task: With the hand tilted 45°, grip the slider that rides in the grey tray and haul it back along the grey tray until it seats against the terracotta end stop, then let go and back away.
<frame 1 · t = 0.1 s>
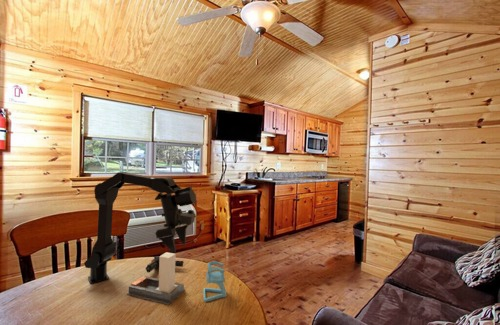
hand: (179, 247, 94), 15 cm above the table, tool pointing down, fingers open, 9 cm apart
chair: (214, 295, 89), on the table
grey tray: (148, 290, 91), on the table
black angular piece: (168, 268, 110), on the table
slider: (167, 273, 88), point 8 cm above the table, slide at 8.0 cm
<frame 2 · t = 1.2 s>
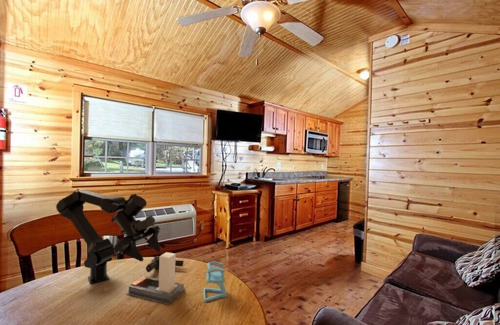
hand: (151, 255, 90), 13 cm above the table, tool tilted 45°, fingers open, 9 cm apart
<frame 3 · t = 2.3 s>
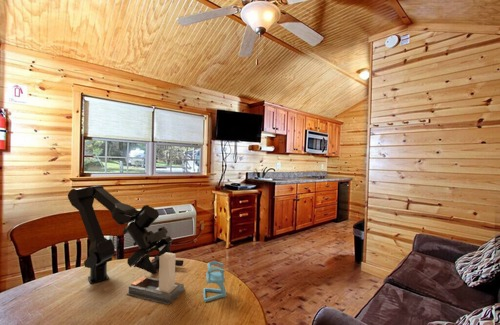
hand: (164, 268, 89), 10 cm above the table, tool tilted 45°, fingers open, 9 cm apart
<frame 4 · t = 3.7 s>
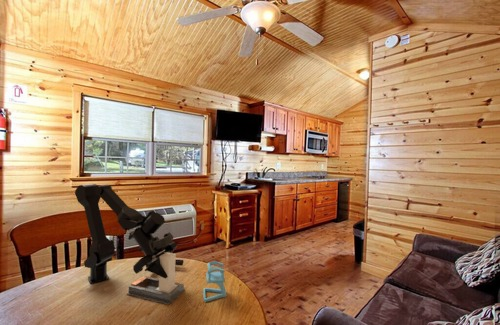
hand: (170, 274, 88), 8 cm above the table, tool tilted 45°, fingers closed on slider, 4 cm apart
slider: (167, 273, 88), point 8 cm above the table, slide at 8.0 cm, touching gripper
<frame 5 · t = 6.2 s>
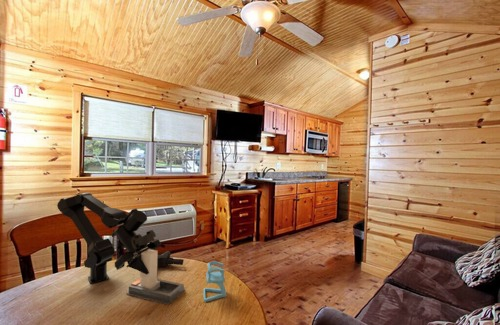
hand: (152, 271, 90), 8 cm above the table, tool tilted 45°, fingers closed on slider, 4 cm apart
slider: (149, 270, 91), point 8 cm above the table, slide at 0.0 cm, touching gripper
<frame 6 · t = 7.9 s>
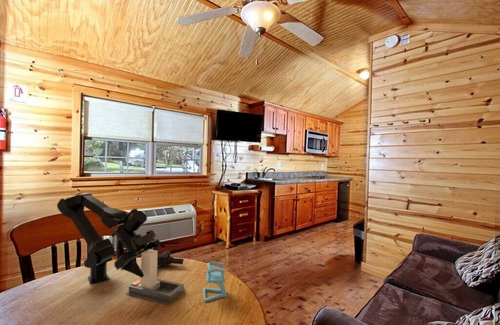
hand: (151, 271, 90), 8 cm above the table, tool tilted 45°, fingers open, 9 cm apart
slider: (149, 270, 91), point 8 cm above the table, slide at 0.0 cm
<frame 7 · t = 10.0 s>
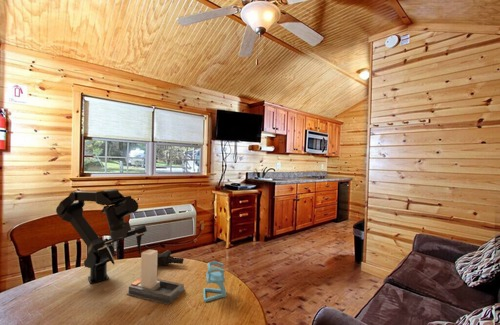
hand: (127, 258, 93), 11 cm above the table, tool tilted 25°, fingers open, 9 cm apart
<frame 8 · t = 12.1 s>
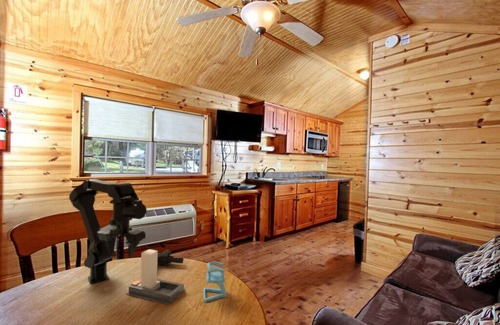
hand: (120, 255, 93), 12 cm above the table, tool pointing down, fingers open, 9 cm apart
at the end: slider slide at 0.0 cm; the gripper is holding nothing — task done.
